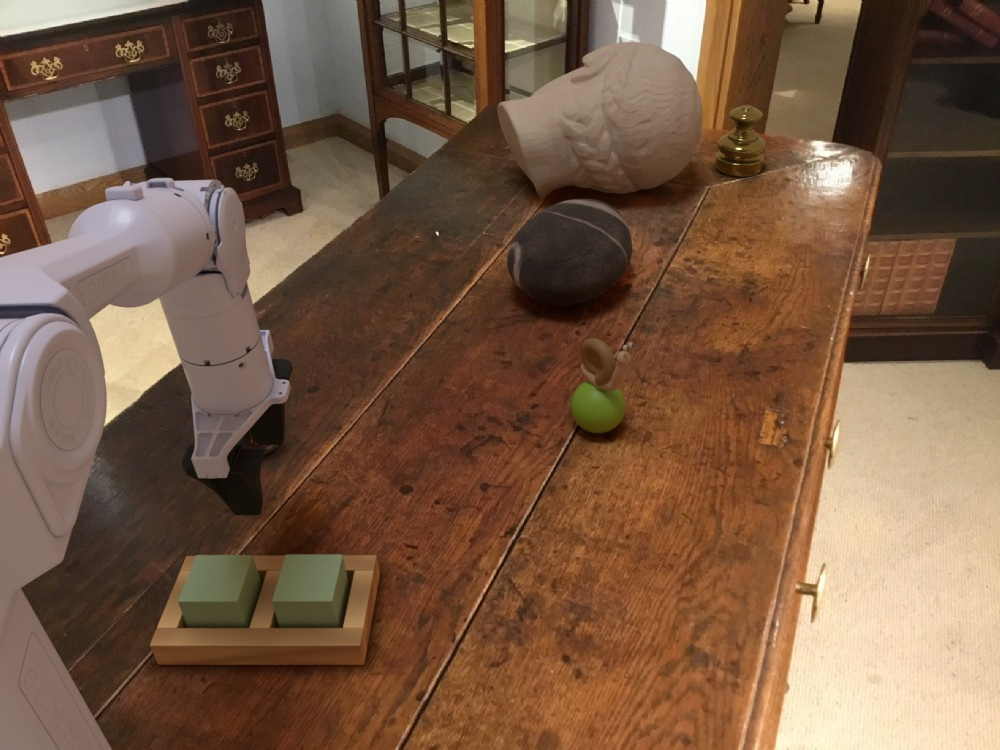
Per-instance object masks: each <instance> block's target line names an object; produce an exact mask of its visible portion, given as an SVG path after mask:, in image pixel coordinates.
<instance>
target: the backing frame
mask: <svg viewBox="0 0 1000 750" xmlns="http://www.w3.org/2000/svg"><path fill="white" fill-rule="evenodd" d="M285 555H286V554H285ZM285 555H283V554H282V555H275V554H274V555H253V558H254V561H255V564H256V567H257V571H258V574H259V577H260V580H261V584H262V589H261V592H260V595H259V599H258V602H257V605H256V608H255V611H254V615H253V618H252V621H251V624H250V628H188V626H187V624H186V621H185V619H184V616H183V614H182V611H181V609H180V606H179V604H178V599H179V597H180V594H181V592H182V589H183V587H184V584H185V582H186V579H187V577H188V574H189V572H190V569H191V567H192V564H193V562H194V559H195V557H196V555H186V556H185V558H184V560H183V563H182V566H181V568H180V570H179V572H178V576H177V578H176V580H175V582H174V585H173V588H172V590H171V593H170V594H169V598H168V600H167V602H166V604H165V607H164V609H163V611H162V614H161V616H160V619H159V621H158V624H157V626H156V629H155V631H154V634H153V636H152V638H151V641H150V643H149V647H150V649H151V653H152V654H153V656H154V658H155V661H156V663H157V665H158V666H364V665H365V664H366V657H367V651H368V647H369V640H370V634H371V629H372V624H373V623H372V622H373V617H374V611H375V605H376V599H377V596H378V595H377V594H378V588H379V583H380V577H381V573H380V567H379V562H378V556H377V555H376V554H342V555H343V559H344V563H345V568H346V573H347V577H348V582H349V587H350V595H349V600H348V605H347V610H346V615H345V620H344V624H343V628H280V627H279V623H278V620H277V617H276V613H275V610H274V607H273V604H272V599H273V596H274V592H275V589H276V585H277V582H278V578H279V575H280V572H281V568H282V565H283V561H284V558H285Z"/></svg>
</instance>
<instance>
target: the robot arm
mask: <svg viewBox="0 0 1000 750" xmlns="http://www.w3.org/2000/svg"><path fill="white" fill-rule="evenodd" d="M104 195H105V199H106V201H103V202H100V203H97V204H94V205H92V206H90V207H88V208H87V209H85V210H84V211H82V212H81V213H80V214H78V216H77V218H76V219H75V220H74V222H73V223H72V225H71V227H70V230H69V233H68V235H67V239H62V240H59V241H56V242H55V241H54V242H52V243H48V244H44V245H40V246H37V247H32V248H30V249H26V250H23V251H19V252H16V253H15V252H14V253H11V254H7V255H4V256H1V257H0V750H113V748H112V747H111V745H110V744H109V742H108V740H107V738H106V737H105V735H104V733H103V731H102V729H101V727H100V726H99V724H98V722H97V720H96V719H95V717H94V714H93V713H92V711H91V710H90V708H89V706H88V705H87V702H86V701H85V699H84V697H83V696H82V694H81V692H80V690H79V689H78V686H77V685H76V683H75V682H74V679H73V678H72V676H71V674H70V673H69V671H68V669H67V667H66V665H65V664H64V662H63V660H62V658H61V656H60V655H59V653H58V651H57V650H56V648H55V646H54V644H53V642H52V641H51V639H50V637H49V635H48V633H47V632H46V630H45V628H44V627H43V625H42V623H41V621H40V620H39V618H38V616H37V614H36V612H35V610H34V608H33V607H32V605H31V603H30V602H29V600H28V598H27V597H26V594H25V593H24V591H23V589H22V588H23V587H24V586H26V585H28V584H29V583H31V582H33V581H34V580H36V579H38V578H39V577H41V576H42V575H44V574H46V573H47V572H49V571H50V570H53V568H55V567H57V566H58V565H60V564H61V563H62V562H63V561H64V559H65V556H66V553H67V549H68V545H69V542H70V538H71V535H72V531H73V528H74V526H75V525H76V522H77V519H78V516H79V512H80V508H81V504H82V501H83V498H84V494H85V491H86V487H87V483H88V481H89V477H90V473H91V470H92V467H93V463H94V459H95V456H96V452H97V450H98V449H97V448H98V446H99V444H100V443H101V439H102V436H103V433H104V429H105V424H106V418H107V407H108V396H107V395H108V394H107V393H108V392H107V383H106V378H105V377H106V376H105V375H106V370H105V364H104V359H103V354H102V351H101V347H100V344H99V341H98V337H97V335H96V331H95V329H94V326H93V323H92V322H91V320H90V319H92V318H93V317H95V316H97V314H99V313H100V312H101V311H102V310H104V309H105V308H107V307H108V306H109V305H111V306H114V307H119V308H125V309H126V308H128V309H129V308H131V309H134V308H138V307H143V306H147V305H149V304H152V302H155V301H156V300H158V299H159V302H160V305H161V308H162V312H163V313H164V317H165V320H166V323H167V325H168V328H169V331H170V334H171V337H172V340H173V343H174V346H175V349H176V352H177V355H178V357H179V361H180V363H181V365H182V369H183V371H184V375H185V377H186V380H187V383H188V386H189V389H190V392H191V395H190V401H191V412H192V423H193V435H194V444H193V443H192V444H190V443H189V444H188V445H187V447H186V450H185V453H184V454H183V457H182V460H181V465H182V468H183V470H184V473H185V475H186V476H187V477H190V478H192V479H194V480H196V481H198V482H200V483H202V484H203V485H205V486H206V487H208V488H209V489H211V490H212V492H214V493H215V494H216V495H217V496H218V497H219V498H220V499H221V500H222V501H223V503H224V504H225V505H226V506H227V508H228V509H229V510H230V511H231V513H233V514H234V516H260V515H261V514H262V511H263V505H264V497H263V487H262V482H261V469H262V464H263V460H264V457H265V456H264V454H265V451H266V449H243V447H242V444H239V445H237V443H238V441H239V440H240V439H241V438H242V437H243V436H244V435H245V434H246V432H247V431H248V430H250V432H251V434H252V436H253V438H254V440H255V441H256V442H257V444H258V445H278V446H282V445H283V443H284V440H285V433H286V418H285V417H286V402H287V400H288V399H289V396H290V393H291V388H292V387H291V384H290V378H291V376H292V373H293V370H294V368H293V363H292V361H290V360H289V359H286V358H272V355H273V353H274V350H275V346H274V341H273V339H272V335H271V334H272V333H271V331H270V329H260V325H259V322H258V318H257V315H256V310H255V307H254V303H253V299H252V295H251V292H250V288H249V284H248V280H249V278H250V276H251V267H250V265H251V261H250V258H249V254H248V248H247V237H246V235H247V233H246V232H247V231H246V219H245V212H244V208H243V207H244V206H243V202H242V201H241V199H240V198H239V195H238V194H237V192H236V190H235V189H233V188H232V187H225V185H224V184H222V182H221V180H219V179H194V180H192V179H191V180H190V179H189V180H174V179H173V178H171V177H155V178H151V179H148V180H147V181H141V182H138V183H134V182H133V183H131V181H130V180H127V181H125V182H124V184H122V185H115V186H111V187H107V188H105V190H104Z"/></svg>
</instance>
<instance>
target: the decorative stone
mask: <svg viewBox="0 0 1000 750" xmlns="http://www.w3.org/2000/svg"><path fill="white" fill-rule="evenodd" d="M632 255H633V242H632V233H631V231H630V227H629V226H628V223H627V221H626V219H625V217H624V216H623V215H622V213H621V212H619V210H618V209H616V208H615V207H614V206H612V205H610V204H609V203H606V202H604V201H601V200H597V199H593V198H575V199H574V198H573V199H567V200H564V201H560V202H558V203H555V204H553V205H550V206H548V207H546V208H544V209H543V210H542V211H540V212H538V213H536V214H535V215H534V216H533V217H532V218H530V220H528V221H527V222H526V223H524V224H523V226H521V227H520V229H518V231H517V232H516V234H515V235H514V237H513V238H512V241H511V243H510V245H509V248H508V252H507V258H506V265H507V270H508V273H509V276H510V278H511V280H512V282H514V284H515V285H516V286H517V288H519V289H520V290H521V291H522V292H524V294H526V295H528V296H530V297H531V298H532V299H535V300H537V301H539V302H542V303H545V304H548V305H553V306H558V307H559V306H560V307H567V306H574V305H579V304H584V303H587V302H589V301H592V300H595V299H596V298H599V297H600V296H602V295H604V294H605V293H606V292H608V291H609V290H610V289H612V288H613V287H614V286H615V285H616V284H617V283H618V282H619V280H620V279H621V278H622V277H623V275H624V274H625V273H626V271H627V269H628V268H629V265H630V262H631V259H632Z"/></svg>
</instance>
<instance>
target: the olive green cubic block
mask: <svg viewBox="0 0 1000 750" xmlns="http://www.w3.org/2000/svg"><path fill="white" fill-rule="evenodd" d="M195 556H196V557H195V559H194V562H193V564H192V567H191V569H190V572H189V574H188V577H187V579H186V582H185V584H184V587H183V589H182V592H181V594H180V597H179V599H178V604H179V606H180V609H181V611H182V614H183V616H184V619H185V621H186V624H187V626H188V628H250V624H251V621H252V618H253V615H254V611H255V608H256V605H257V602H258V599H259V595H260V592H261V589H262V584H261V580H260V577H259V574H258V571H257V567H256V564H255V561H254V558H253V556H254V555H253V554H197V555H195Z"/></svg>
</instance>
